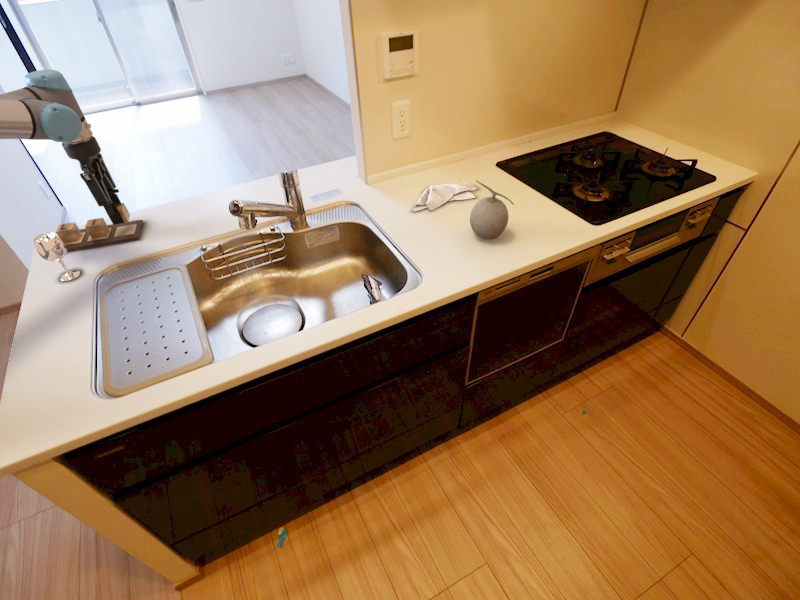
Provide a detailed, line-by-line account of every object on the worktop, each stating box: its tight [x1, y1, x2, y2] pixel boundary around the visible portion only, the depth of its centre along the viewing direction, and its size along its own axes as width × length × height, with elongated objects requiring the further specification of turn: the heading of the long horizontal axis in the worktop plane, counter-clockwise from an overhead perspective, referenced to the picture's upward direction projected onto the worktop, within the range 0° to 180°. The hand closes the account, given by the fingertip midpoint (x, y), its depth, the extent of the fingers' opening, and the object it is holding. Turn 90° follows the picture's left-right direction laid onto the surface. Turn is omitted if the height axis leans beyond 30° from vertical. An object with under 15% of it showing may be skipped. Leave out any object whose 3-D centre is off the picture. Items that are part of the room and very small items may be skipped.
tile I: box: [84, 217, 109, 239], centre depth 123 cm, size 4×4×4 cm
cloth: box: [412, 182, 478, 212], centre depth 140 cm, size 26×14×2 cm, turn 115°
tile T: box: [105, 202, 131, 222], centre depth 122 cm, size 4×4×4 cm
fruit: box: [469, 180, 515, 240], centre depth 118 cm, size 10×12×15 cm
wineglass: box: [32, 231, 81, 282], centre depth 108 cm, size 6×6×12 cm
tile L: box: [55, 222, 82, 243], centre depth 121 cm, size 4×4×4 cm
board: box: [64, 219, 145, 253], centre depth 125 cm, size 22×10×1 cm, turn 108°
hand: (120, 218), depth 123 cm, fingers closed on tile T, 4 cm apart
